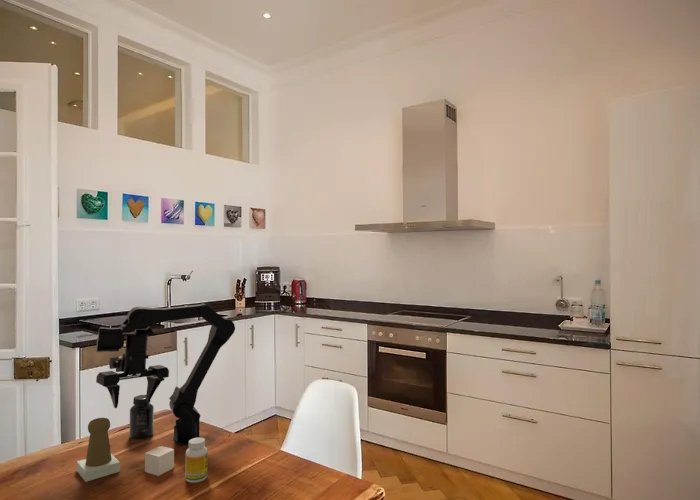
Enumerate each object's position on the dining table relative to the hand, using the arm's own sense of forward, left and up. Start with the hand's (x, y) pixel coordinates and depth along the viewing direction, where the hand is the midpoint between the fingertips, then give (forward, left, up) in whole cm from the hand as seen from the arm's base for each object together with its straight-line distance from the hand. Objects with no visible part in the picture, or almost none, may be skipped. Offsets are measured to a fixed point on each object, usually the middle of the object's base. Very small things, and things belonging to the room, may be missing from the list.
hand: (131, 404), depth 133 cm
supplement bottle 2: (-6, +29, -13) cm, 32 cm away
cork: (+11, +8, -11) cm, 17 cm away
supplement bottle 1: (-6, -9, -13) cm, 18 cm away
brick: (-1, +18, -13) cm, 22 cm away
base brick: (+11, +8, -13) cm, 19 cm away
